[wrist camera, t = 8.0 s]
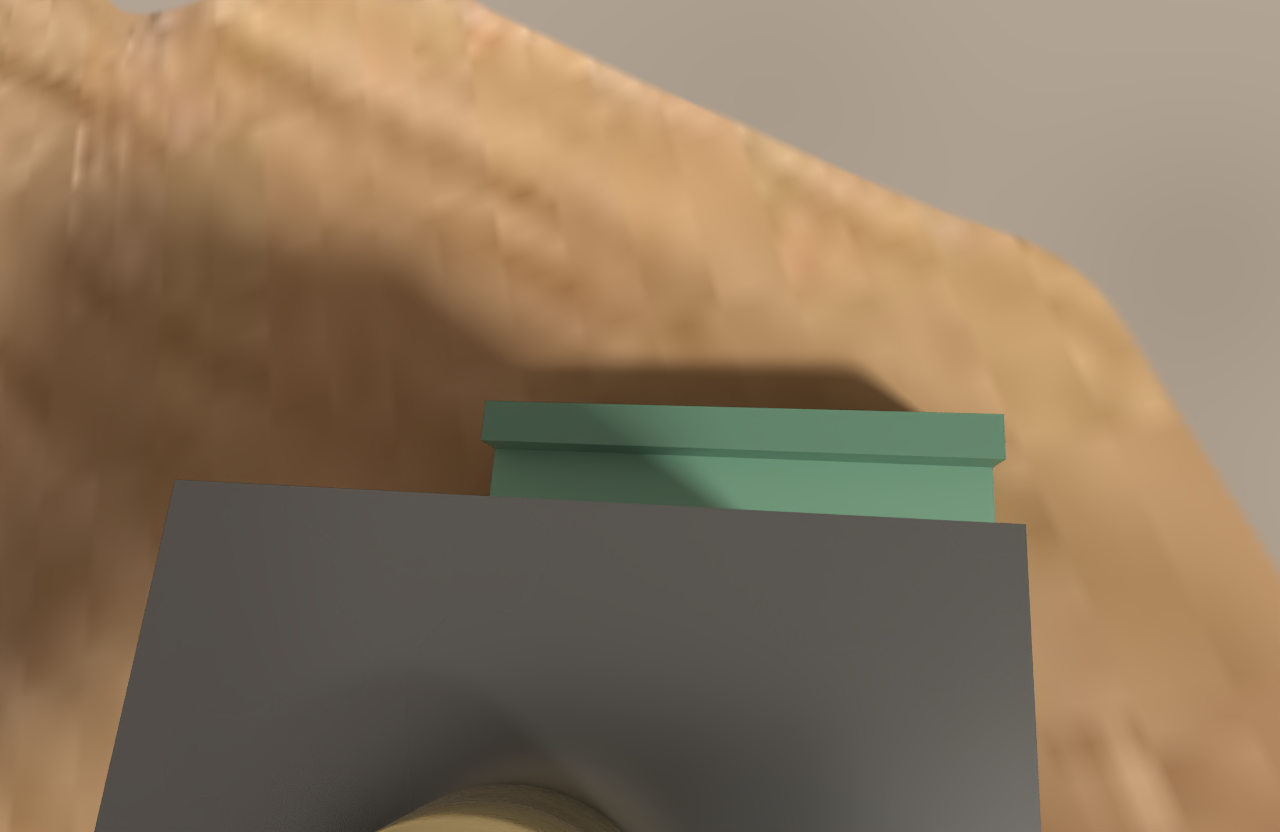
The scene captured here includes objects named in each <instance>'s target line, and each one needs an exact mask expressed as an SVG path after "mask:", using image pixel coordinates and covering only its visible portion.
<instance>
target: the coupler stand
mask: <svg viewBox="0 0 1280 832" xmlns="http://www.w3.org/2000/svg"><path fill="white" fill-rule="evenodd" d="M481 441H483V442H485V443H486V444H488V445H490V446H492V447H493V448H495V454H494V462H493V471H492V479H491V487H490V495H489V496H496V497H515V498H534V499H553V500H572V501H591V502H610V503H629V504H648V505H667V506H686V507H705V508H724V509H743V510H762V511H781V512H800V513H819V514H838V515H857V516H877V517H895V518H915V519H934V520H953V521H972V522H991V523H995V506H994V481H993V467H995V466H996V465H998V464H999V463H1001V462H1002V461H1004V460H1005V459H1006V453H1005V430H1004V414H976V413H937V412H899V411H860V410H821V409H783V408H744V407H705V406H667V405H628V404H589V403H551V402H512V401H485V409H484V417H483V425H482V433H481Z"/></svg>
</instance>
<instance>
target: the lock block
mask: <svg viewBox="0 0 1280 832" xmlns="http://www.w3.org/2000/svg"><path fill="white" fill-rule="evenodd" d="M94 832H1041V819H1040V799H1039V779H1038V759H1037V739H1036V720H1035V700H1034V680H1033V660H1032V640H1031V620H1030V600H1029V580H1028V560H1027V540H1026V524H1010V523H991V522H972V521H953V520H934V519H915V518H895V517H877V516H857V515H838V514H819V513H800V512H781V511H762V510H743V509H724V508H705V507H686V506H667V505H648V504H629V503H610V502H591V501H572V500H553V499H534V498H515V497H496V496H477V495H458V494H439V493H420V492H401V491H382V490H363V489H344V488H325V487H306V486H287V485H268V484H249V483H230V482H211V481H192V480H175V483H174V487H173V491H172V496H171V500H170V504H169V509H168V513H167V518H166V522H165V526H164V531H163V535H162V539H161V544H160V548H159V552H158V557H157V561H156V565H155V570H154V574H153V578H152V583H151V587H150V592H149V596H148V600H147V605H146V609H145V613H144V618H143V622H142V626H141V631H140V635H139V639H138V644H137V648H136V653H135V657H134V661H133V666H132V670H131V674H130V679H129V683H128V687H127V692H126V696H125V700H124V705H123V709H122V713H121V718H120V722H119V727H118V731H117V735H116V740H115V744H114V748H113V753H112V757H111V761H110V766H109V770H108V774H107V779H106V783H105V788H104V792H103V796H102V801H101V805H100V809H99V814H98V818H97V822H96V827H95V831H94Z"/></svg>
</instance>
